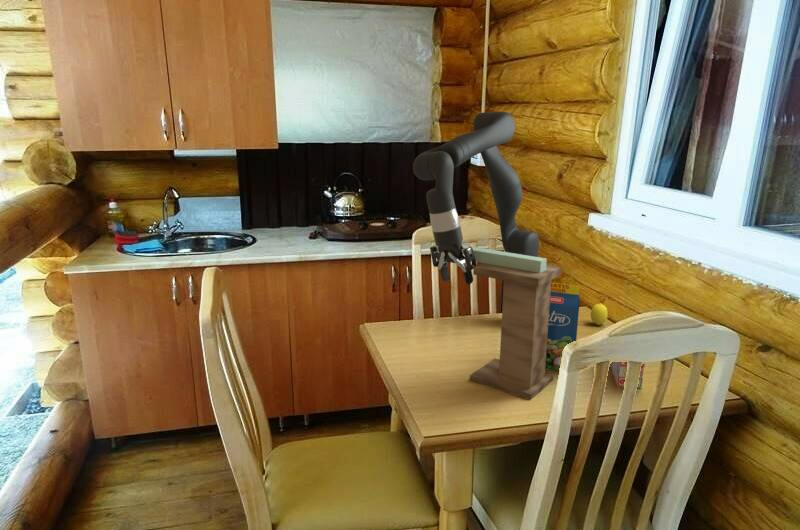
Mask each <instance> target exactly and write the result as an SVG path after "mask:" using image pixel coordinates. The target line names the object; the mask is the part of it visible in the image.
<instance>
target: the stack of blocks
mask: <svg viewBox="0 0 800 530" xmlns="http://www.w3.org/2000/svg"><path fill="white" fill-rule="evenodd" d="M609 367H610V369H612V370H611V372H612V375H613V378H614V381H615V384H616V387H620V388H621V387H623V386H624V382H625V377H626V372H627V362H612V363H611V364H610V365H609ZM644 368H645V364H642V366H641V371H640V377H639V384H638V387H639V388H638V389H641V388H642V385H643V376H644ZM640 387H641V388H640ZM623 388H624V387H623Z"/></svg>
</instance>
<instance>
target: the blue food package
mask: <svg viewBox="0 0 800 530" xmlns="http://www.w3.org/2000/svg"><path fill="white" fill-rule="evenodd" d="M580 290H581V285H577V284H569V283H568V284H567V283H559V282H553V281H551V293H550V307H549V321H548V335H547V349H546V363H545V370H548V371H553V372H559V368H560V364H561V357H562V351H563V349H564V347H565V346H566V345H567V344H569V343H571V342H573V341H576V342H577V334H578V325H579V323H578V322H579V314H580V313H579V312H580Z"/></svg>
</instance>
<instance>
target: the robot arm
mask: <svg viewBox="0 0 800 530" xmlns="http://www.w3.org/2000/svg"><path fill="white" fill-rule="evenodd" d="M472 125H473V126H472V128H473V130H472V131H470V132H466V133H462V134H460V135H458V136H455V137H452V139H450V140H448V141H447V142H445V143H444V144H442V145H439V146H437V147H434V148H431V149H428V150H426V151H423V152H421V153H420V154H419V155H417V157H415V159H414V162H413V165H412V169H413V174H414V175H415V177H417V178H418V179H419V180H422V181H434V180H435V187H433V188H431V189H429V190H428V191H427V192H426V194H425V195H426V197H425V199H426V203H427V207H428V212H429V220H430V225H431V229H432V234H433V239H434V245H432V246H430V248H429V251H430V256H431V262H432V265H433V268H436V267H437V268H438V270H439V272H440V275H441V279H442V281H443V282H445V283H446V282H448V281H450V279H451V277H450V272H449V267H448V264H449V263H453V264H456V266H457V267H460V268H461V270H462V271H463V272H462V273H463V278H464V282H465V285H467V286H468V285H471V284H473V281H474V276H473V275H474V274H473V271H472V270H474V267H475V266H477V265H478V264H477V262H476V260H475V256H474V252H473V248H472V247H473V246H470V247H468V248H464V247H463V246H462V245H463V243H462V242H463V239H464V238H463V233H462V228H461V224H460V223H461V222H460V219H459V215H458V211H457V208H456V204H455V198H454V194H453V189H454V188H453V187H454V186H453V185H454V172H455V171H454V170H455V168H457V167H459V166H461V165H462V164H464V163H466V162H467V161H468V160H470V159H471V158H473V157H475V156H476V155H478V154H480V155H481V159H482V161H483V164H484V166H485V170H486V175H487V178H488V182H489V185H490V186H489V187H490V189H491V195H492V199H493V201H494V204H495V205H494V206H495V209H496V213H497V218H498V221H499V229H500V235H501V244H502V247H503V250H504V252H508V253H515V254H521V255H527V256H534V257H539V251H540V238H539V235H538V233H536V232H534V231H529V230H525V229H519V228H518V226H517V223H516V214H517V212H518V210H519V208H520V206H521V204H522V200H523V197H524V195H523V190H522V189H523V188H522V185H521V180H520V177H519V175H518V173H517V171H516V170H515V169H514V168H513V166H512V165H511V164H510V163H509V162H508V161H507V160H506V159H505V157H503V155H502V154H501V152H500V149H499V148H498V146H500V145H503V144H506V143H508V142H510V141H511V140H512V138H513V136H514V134H515V131H516V123H515V118H514V116H513V115H512V114H511V113H509V112H508V111H484V112H479V113H478V114H476V116H475V117H474V119H473V124H472ZM461 258H462V259H461Z"/></svg>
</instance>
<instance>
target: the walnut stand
mask: <svg viewBox="0 0 800 530" xmlns="http://www.w3.org/2000/svg"><path fill="white" fill-rule="evenodd" d="M562 270H563V269H562V266H557V265H550V264H546V270H545V271H543V272H541V273H538V272H532V271H526V270H521V269H515V268H509V267H504V266H498V265H492V264H487V263H480V264H477V266H475V267H474V269H473V271H472V275H474V276H481V277H484V278H491V279H495V280H501V281H503V289H502V304H501V305H502V306H501V307H502V308H501V309H502V310H501V311H502V312H501V327H500V329H501V331H500V348H499V352H500V353H499V359H498V358H493V359H492V360H491V361H489V362H487V363H486V364H484V365H483V366H481V367H479V368H478V369H477V370H475V371H474V372H472V373H471V374H469V381H471V382H474V383H477V384H480V385H483V386H486V387H489V388H493V389H496V390H499V391H502V392H505V393H508V394H511V395H515V396H518V397H521V398H523V397H524V399H526V398H527V400H530V401H531V400H533V399H534V398H535V397H536V396H537V395H538V394H539V393H540V392H542V391H543V390H544V389H545V388H546V387H547V386H548V385H550V384H551V383H552V382H553V381H554V375H553V374H550V373H547V372H546V369H545V363H546V349H547V335H548V321H549V307H550V293H551V282H552V281H553V280H554V279H555V278H558V277H559V276H561V275H562ZM549 383H550V384H549Z"/></svg>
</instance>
